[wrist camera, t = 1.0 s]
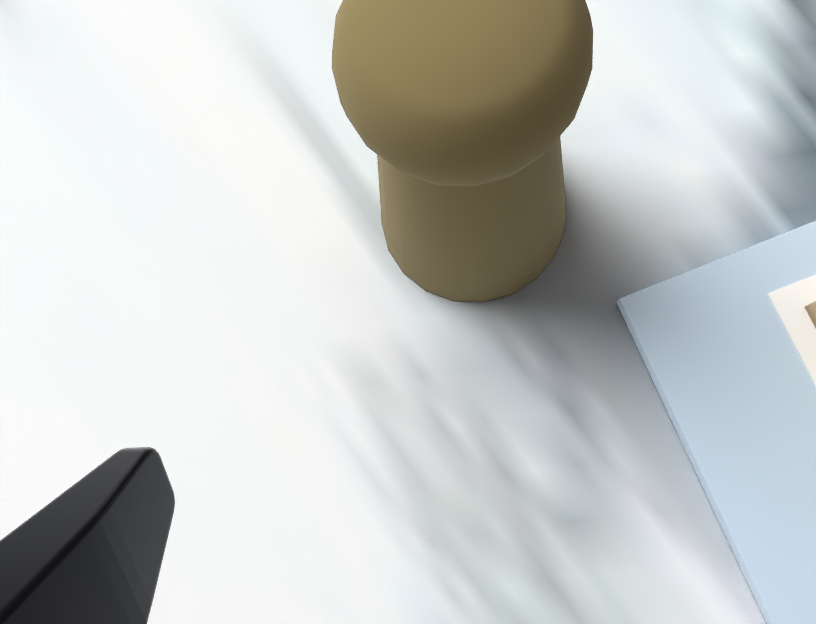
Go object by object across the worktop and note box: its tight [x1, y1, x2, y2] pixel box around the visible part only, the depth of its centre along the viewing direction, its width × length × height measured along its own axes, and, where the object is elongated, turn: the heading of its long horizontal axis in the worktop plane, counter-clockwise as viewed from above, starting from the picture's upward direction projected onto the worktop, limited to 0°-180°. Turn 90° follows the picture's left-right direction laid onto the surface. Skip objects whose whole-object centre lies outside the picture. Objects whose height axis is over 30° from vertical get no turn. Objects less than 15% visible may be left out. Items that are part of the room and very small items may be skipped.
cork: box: [332, 0, 593, 302], centre depth 18 cm, size 6×6×11 cm
